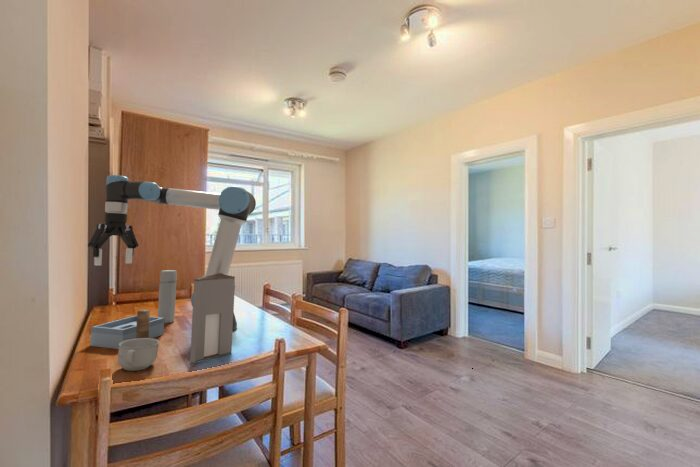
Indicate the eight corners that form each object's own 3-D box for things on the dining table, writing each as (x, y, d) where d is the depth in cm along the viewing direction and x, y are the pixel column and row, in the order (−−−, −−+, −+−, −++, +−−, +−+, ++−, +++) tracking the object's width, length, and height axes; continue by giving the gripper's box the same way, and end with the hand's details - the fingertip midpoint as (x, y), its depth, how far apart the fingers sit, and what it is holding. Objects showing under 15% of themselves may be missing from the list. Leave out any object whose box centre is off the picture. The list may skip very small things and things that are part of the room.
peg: (150, 347, 120) (152, 310, 121) (141, 351, 116) (144, 312, 117) (141, 346, 121) (143, 309, 121) (132, 350, 117) (134, 311, 118)
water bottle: (169, 324, 153) (172, 271, 154) (153, 323, 153) (156, 271, 154) (180, 319, 162) (182, 270, 163) (164, 319, 162) (167, 269, 163)
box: (163, 334, 137) (164, 317, 137) (122, 349, 117) (123, 330, 118) (135, 331, 140) (136, 315, 140) (90, 345, 120) (91, 326, 120)
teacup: (130, 360, 107) (131, 336, 107) (164, 361, 108) (165, 337, 108) (101, 378, 93) (103, 350, 93) (140, 378, 94) (142, 351, 94)
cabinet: (215, 344, 127) (219, 273, 127) (240, 345, 127) (243, 274, 127) (189, 364, 106) (194, 279, 106) (219, 365, 106) (223, 280, 107)
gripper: (135, 215, 146) (133, 262, 146) (77, 210, 122) (75, 266, 121) (148, 215, 145) (146, 262, 144) (93, 210, 120) (90, 266, 120)
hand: (114, 264), depth 133 cm, fingers open, 13 cm apart
